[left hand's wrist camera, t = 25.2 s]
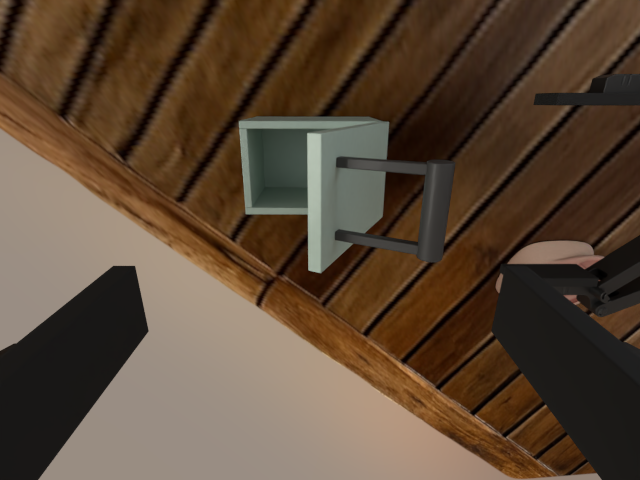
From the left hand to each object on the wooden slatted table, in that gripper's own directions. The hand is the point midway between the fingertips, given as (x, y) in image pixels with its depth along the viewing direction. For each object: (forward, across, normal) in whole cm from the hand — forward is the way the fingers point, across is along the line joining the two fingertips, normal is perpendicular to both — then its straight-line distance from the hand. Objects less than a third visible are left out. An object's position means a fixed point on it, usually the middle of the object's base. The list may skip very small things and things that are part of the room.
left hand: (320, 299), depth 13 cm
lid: (+19, +2, 0) cm, 19 cm away
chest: (+36, -1, 0) cm, 36 cm away
